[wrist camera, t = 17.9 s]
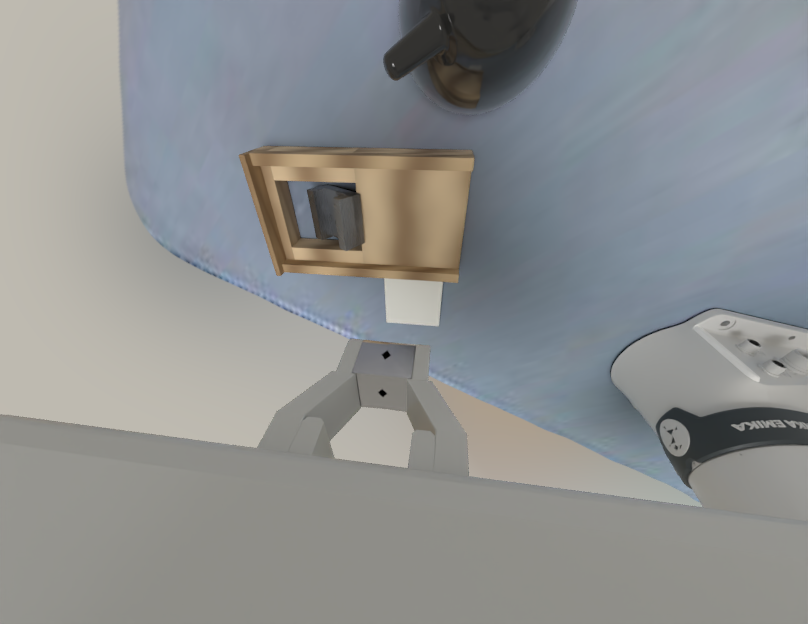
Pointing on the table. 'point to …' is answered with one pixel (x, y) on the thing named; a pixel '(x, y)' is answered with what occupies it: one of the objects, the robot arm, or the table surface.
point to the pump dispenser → (476, 48)
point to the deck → (368, 209)
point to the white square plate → (413, 301)
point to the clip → (337, 215)
